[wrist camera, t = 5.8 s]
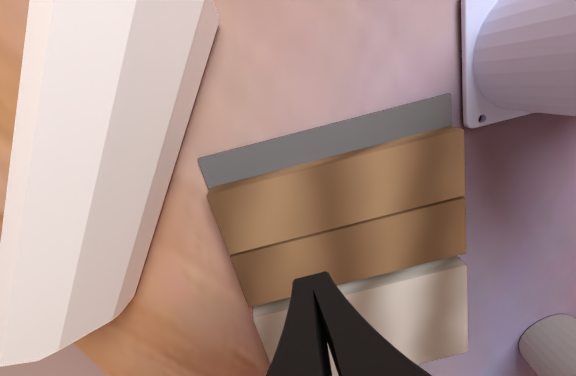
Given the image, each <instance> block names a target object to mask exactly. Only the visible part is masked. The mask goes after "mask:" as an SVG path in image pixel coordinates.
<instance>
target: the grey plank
mask: <svg viewBox="0 0 576 376" xmlns="http://www.w3.org/2000/svg"><path fill="white" fill-rule="evenodd" d="M337 287H338V288H339V290H340V291H341V292H342V294H343V295H344V296H345V297H346V299H347V300H348V301H349V302H350V303H351V304H352V306H353V307H354V308H355V309H356V310H357V311H358V312H359V313H360V315H361V316H362V317H363V318H364V319H365V320H366V321H367V322H368V323H369V324H370V325H371V326H372V327H373V328H374V329H375V330H376V331H377V332H378V333H379V334H381V335H382V336H383V337H384V338H385V339H386V340H387V341H388V342H389V343H391V344H392V345H393V346H394V347H395V348H396V349H398V350H399V351H400V352H401V353H403V354H404V355H405V356H406V357H407V358H409V359H410V360H411V361H412V362H414V363H415V364H420V363H424V362H428V361H433V360H437V359H441V358H445V357H449V356H453V355H457V354H461V353H465V352H468V308H467V265H466V264H465V263H464V262H463V261H462V260H461V259H460V258H459V257H457V256H453V257H449V258H445V259H441V260H437V261H433V262H429V263H425V264H421V265H417V266H413V267H409V268H405V269H401V270H397V271H393V272H389V273H385V274H381V275H377V276H373V277H369V278H365V279H361V280H357V281H353V282H349V283H345V284H341V285H337ZM290 298H291V297H289V298H285V299H281V300H277V301H273V302H269V303H265V304H261V305H257V306H254V307H253V320H254V323H255V325H256V328H257V331H258V333H259V336H260V338H261V341H262V344H263V346H264V349H265V352H266V354H267V357H268V359H269V362H270V365H271V362H272V360H273V357H274V354H275V352H276V349H277V346H278V343H279V340H280V337H281V334H282V331H283V327H284V324H285V320H286V316H287V312H288V308H289V303H290ZM327 344H328V343H327ZM328 350H329V357H330V364H331V371H332V376H339V375H338V372H337V370H336V367H335V364H334V361H333V358H332V355H331V352H330V349H329V346H328Z"/></svg>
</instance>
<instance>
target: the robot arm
mask: <svg viewBox="0 0 576 376" xmlns="http://www.w3.org/2000/svg"><path fill="white" fill-rule="evenodd" d="M461 28H462V80H463V123H464V125H465V127H467V128H477V127H481V126H485V125H489V124H493V123H496V122H500V121H504V120H508V119H512V118H516V117H520V116H524V115H528V114H531V113H535V112H538V113H547V114H557V115H567V116H576V0H461ZM480 115H481V116H482V119H481V120H480V121H478V118H479V116H480ZM327 343H328V344H327ZM328 346H329V349H330V352H331V355H332V358H333V361H334V364H335V367H336V370H337V372H338V375H339V376H431V375H430V374H429V373H427V372H426V371H425V370H423V369H422V368H421V367H419V366H418V365H417V364H415V363H414V362H412V361H411V360H410V359H409V358H407V357H406V356H405V355H404V354H403V353H401V352H400V351H399V350H398V349H396V348H395V347H394V346H393V345H392V344H391V343H389V342H388V341H387V340H386V339H385V338H384V337H383V336H382V335H381V334H379V333H378V332H377V331H376V330H375V329H374V328H373V327H372V326H371V325H370V324H369V323H368V322H367V321H366V320H365V319H364V318H363V317H362V316H361V315H360V313H359V312H358V311H357V310H356V309H355V308H354V307H353V306H352V304H351V303H350V302H349V301H348V300H347V299H346V297H345V296H344V295H343V294H342V292H341V291H340V290H339V288H338V287H337V286H336V284H335V283H334V281H333V280H332V278H331V276H330V274H329V273H328V272H326V271H324V272H321V273H317V274H313V275H309V276H305V277H301V278H297V279H294V281H293V282H292V292H291V298H290V303H289V308H288V312H287V316H286V320H285V324H284V327H283V331H282V334H281V337H280V340H279V343H278V346H277V349H276V352H275V354H274V357H273V360H272V362H271V365H270V367H269V369H268V372H267V374H266V376H332V371H331V364H330V357H329V350H328Z"/></svg>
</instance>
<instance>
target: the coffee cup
mask: <svg viewBox="0 0 576 376" xmlns="http://www.w3.org/2000/svg"><path fill="white" fill-rule="evenodd" d="M519 350H520V353H521V355H522V356H523V357H524V359H525V360H526V361H527V362H528V364H529V365H530V366H531V368H532V369H533V370H534V371H535V373H536V374H537V375H538V376H576V318H574V317H572V316H570V315H566V314H557V315H552V316H549V317H546V318H544V319H542V320H540V321H538V322H536V323H535V324H533V325H532V326H531V327H529V328H528V329H527V330H526V331H525V332H524V334H523V335H522V336H521V339H520V341H519Z"/></svg>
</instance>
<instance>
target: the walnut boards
mask: <svg viewBox="0 0 576 376" xmlns="http://www.w3.org/2000/svg"><path fill="white" fill-rule="evenodd" d="M464 195H465V158H464V129H460V128H456V127H451V126H447V127H443V128H439V129H435V130H431V131H427V132H423V133H419V134H416V135H412V136H408V137H404V138H400V139H396V140H392V141H388V142H384V143H381V144H377V145H373V146H369V147H365V148H361V149H357V150H353V151H349V152H346V153H342V154H338V155H334V156H330V157H326V158H322V159H318V160H315V161H311V162H307V163H303V164H299V165H295V166H291V167H287V168H283V169H280V170H276V171H272V172H268V173H264V174H260V175H256V176H252V177H248V178H245V179H241V180H237V181H233V182H229V183H225V184H221V185H217V186H214V187H211V188H210V190H209V192H208V194H207V198H208V201H209V203H210V206H211V209H212V211H213V214H214V217H215V219H216V222H217V225H218V227H219V230H220V232H221V235H222V238H223V240H224V243H225V246H226V248H227V251H228V254H229V255H230V259H231V261H232V264H233V267H234V269H235V272H236V275H237V277H238V280H239V283H240V285H241V288H242V290H243V293H244V296H245V298H246V301H247V304H248V306H249V307H253V306H257V305H261V304H265V303H269V302H273V301H277V300H281V299H285V298H289V297H291V292H292V282H293V281H294V279H297V278H301V277H305V276H309V275H313V274H317V273H321V272H324V271H326V272H328V273H329V274H330V276H331V278H332V280H333V281H334V283H335V284H336V286H337V285H341V284H345V283H349V282H353V281H357V280H361V279H365V278H369V277H373V276H377V275H381V274H385V273H389V272H393V271H397V270H401V269H405V268H409V267H413V266H417V265H421V264H425V263H429V262H433V261H437V260H441V259H445V258H449V257H453V256H457V255H461V254H465V253H466V212H465V198H464V197H463V196H464Z"/></svg>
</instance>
